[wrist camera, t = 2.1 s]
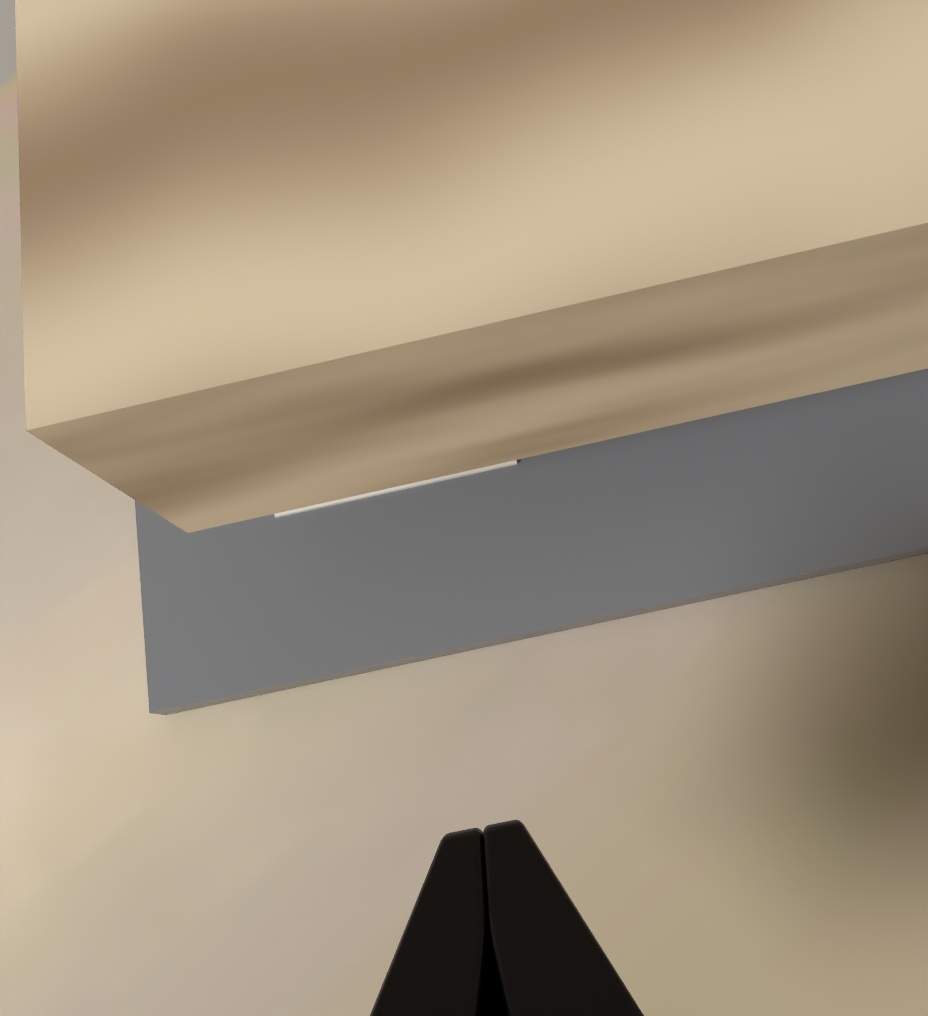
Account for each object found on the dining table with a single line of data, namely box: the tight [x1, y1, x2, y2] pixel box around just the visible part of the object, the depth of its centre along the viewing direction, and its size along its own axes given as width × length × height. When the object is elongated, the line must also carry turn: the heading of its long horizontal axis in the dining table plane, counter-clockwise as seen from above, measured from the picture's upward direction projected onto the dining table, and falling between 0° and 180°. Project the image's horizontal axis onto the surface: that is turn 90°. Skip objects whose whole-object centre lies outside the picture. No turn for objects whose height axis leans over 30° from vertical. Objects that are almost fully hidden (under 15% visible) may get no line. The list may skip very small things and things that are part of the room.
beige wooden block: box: [15, 0, 928, 533], centre depth 16 cm, size 9×20×10 cm, turn 101°
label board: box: [135, 368, 928, 715], centre depth 21 cm, size 14×26×1 cm, turn 101°
